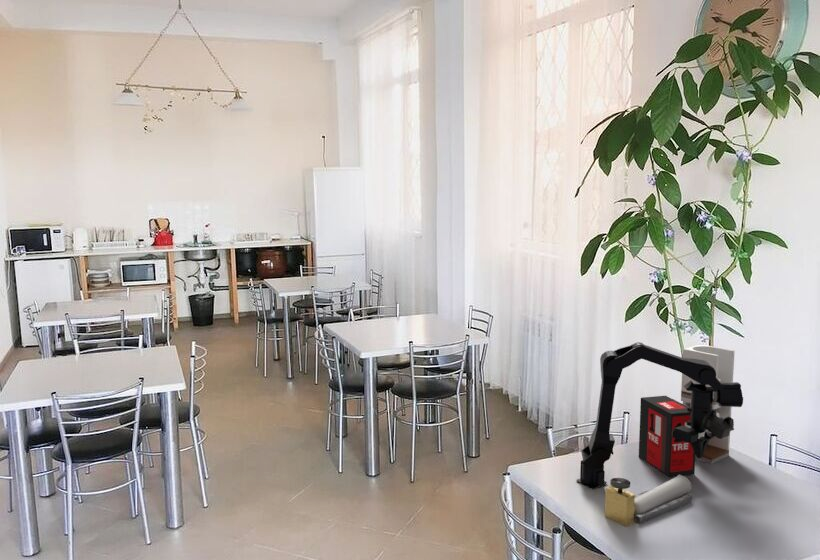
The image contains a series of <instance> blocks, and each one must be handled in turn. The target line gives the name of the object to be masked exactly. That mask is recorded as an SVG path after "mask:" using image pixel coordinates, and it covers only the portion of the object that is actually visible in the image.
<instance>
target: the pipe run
mask: <svg viewBox="0 0 820 560" xmlns="http://www.w3.org/2000/svg"><path fill="white" fill-rule="evenodd" d="M630 487H631V481H630V480H629V479H627V478H622V477H614V478H611V479H610V486H608V487H605V497H604V498H605V503H604V517H605V516H606V517H605V518H607V519H609V520H612V521H613V522H616V523H618V524H619V525H620V526H623V527H629V526H632V525H634V523H636V524H638V525H642V524H644V523H647V522H649V521H652V520H654V519H656V518H657V519H658V518H659V517H661V516H664V515H666V514H669V513H671V512H674V511H676V510H678V509H681V508H683V507H686V506H688V505H690V504H692V503H693V495H690V494H685V495H683V496H682V497H681V496H680V497H678V498H677V499H675V500H673V501H671V502H669V503H666V504H664V505H661V506H659V507H656V508H654V509H651V510H648V511H646V512H643V513H641V514H638V515H636V517H634V516H635V513H636V507H635V504H634V501H635V498H636V497H638V496H640V495H642V494H644V493H646V492H648V491H650V490H652V489H654V488H655V487H654V488H651V489H649V490H646V491H643V492H640V493H637V494H634V493H632V492H629V491H628V490H626V489H628V488H630Z"/></svg>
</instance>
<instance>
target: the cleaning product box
mask: <svg viewBox="0 0 820 560" xmlns="http://www.w3.org/2000/svg"><path fill="white" fill-rule="evenodd" d="M639 406H640V409H639V410H640V411H639V434H638V435H639V436H638V440H639V442H638V458H639V459H640V460H641V461H643V462H645V463H646V464H647V465H648V466H650V467H652V468H653V469H654V470H656V471H658V472H659V473H661V474H662V475H663V476H665V477H667V478H668V479H673V478H675V477H677V476H678V475H682V476H685V477H686V476H687V477H688V476H695V474H696V472H695V471H696V470H695V469H696V459H695V455H696V454H695V452H694V450H693V448H692V446H691V444H690V443H687V442H684V441H681V440H679V439H676V438H673V437H672V430H673V429H674V428H676V427H680V426H685V427H688V428H691V426H689V425H687V421H690V414H691V412H689V411H687V408H688V406H686V405H684V404H683V402H682V403H681V401H680V402H679V401H677V400H676V399H673V398H671V397H669V396H667V395H656V396H646V397H644V396H643V397H640V405H639Z"/></svg>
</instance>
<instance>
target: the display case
mask: <svg viewBox="0 0 820 560" xmlns="http://www.w3.org/2000/svg"><path fill="white" fill-rule="evenodd" d="M682 358H693V359H699V360H704V361H706V362H708V363H709V364H710V365H711V366H712V367H713V368H714V369H715V371H716V378H717V379H718V380H719V381H720V382H721V383H734V369H735V350H734V349H728V348H723V347H718V346H717V347H716V346H712V345H707V344H697V345H693V346H690V347H686V348H682ZM689 381H692V382H693V383H694V384H700V383H698V382H696V381H695V380H693V379H691V378H689V377H688V376H686V375H684V374H683V373H681V387H680V388H681V391H680V402H682V404H684V405H686V406H688V407H691V391H687V390H686V389H685V387H684V385H686V384H687V383H689ZM705 386H707V387H711V386H710V385H705ZM732 408H733V407H724V406H719V405H718V403H715V401H714V392H713V408H712V409H715V410H716V412H717V413H716V415H717V417H719V418H723V419H724V418H726V417H731V418H732ZM730 440H731V432H730V433H729V436H728V437H724V438H722V439H719V438H717V437H714V438H712V439H710V440H709V442H708V444H707V446H706V449H705V451H704V454H703V456H702V458H697V456H696V455H695V460H698V461H702V462H705V463H708V464H710V465H712V464H714V463H716V462H718V461H721V460H722V459H724V458H727V457H729V456H730V442H731V441H730Z"/></svg>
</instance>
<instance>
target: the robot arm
mask: <svg viewBox="0 0 820 560" xmlns="http://www.w3.org/2000/svg"><path fill="white" fill-rule="evenodd" d="M640 360H645V361H648V362H650V363H654V364H656V365H658V366H661V367H665V368H667V369H670V370H673V371H676V372H679V373H681V374H682V373H683V374H684V375H686V376H688V377H689V378H691V379H693V380H695V381H696V382H698V383H700V384H694V383H693V382H692V381H689V383H687V384H686V385H684V387H685V389H686V390H687V391H691V407H688V408H687V411H689V412H691V414H690V421H687V425H689V426H691V428H688V427H685V426H680V427H676V428H674V429H673V430H672V437H673V438H676V439H679V440H681V441H684V442H687V443H690V444H691V446H692V448H693V450H694V452H695V454H696V456H697V458H702V456H703V454H704V451H705V449H706V446H707V444H708V442H709V440H710V439H712V438H714V437H717V438H719V439H722V438H724V437H728V436H729V433H730V434H731V432H732V431H734V430H735V428H734V426H735V421H734V418H732V416H731V417H726V418H724V419H723V418H719V417H717V415H716V413H717V412H716V410H715V409H712V408H713V392H714V401H715V403H718V405H719V406H724V407H732V408H741V407H742V406H743V405H744V404H743V403H744V397H743V391H742V384H741V383H740V382H735V381H733V383H721V382H720V381H719V380H718V379H717V378H716V371H715V369H714V368H713V367H712V366H711V365H710V364H709V363H708V362H706V361H704V360H699V359H693V358H683V356H682V357H681V356H678V355H676V354H672V353H669V352H667V351H664V350H661V349H658V348H655V347H652V346H650V345H646V344H644V343H643V342H634V343H632V344H630V345H627V346H624V347H620V348H617V349H615V350H607V351H604V352H603V353H602V354H601V356H600V360H599V361H600V362H599V363H600V376H601V385H600V392H599V393H600V394H599V398H598V399H599V400H598V407H597V414H596V421H595V427H594V429H593V431H592V433H591V435H590V438H589V441H588V444H587V445H586V446H585V447H584V448H582V450H581V451H580V452H581V458H582V460H580V477H579V478H578V479H576V483H578V484H580V483H581V485H583V486H585V487H588V488H589V489H591V488H592V490H593V489H596V487H597V488H600V487H602V485H603V486H605V485H604V484H606V483H607V484H608V481H606V480H605V462H607V461H608V460H610V459H611V456H612V455H614V446H615V442H616V441H615V437H614V435H613V433H610V431H611V430H610V428H611V421H612V415H613V408H614V400H615V393H616V392H615V391H616V386H617V385H618V383H619V381H620V378H621V376H622V372H623V369H625V368H628V367H629V366H632V365H633V364H634V363H637V361H640ZM705 385H710V386H711V387H707V386H705ZM607 484H606V485H607ZM599 486H600V487H599Z"/></svg>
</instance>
